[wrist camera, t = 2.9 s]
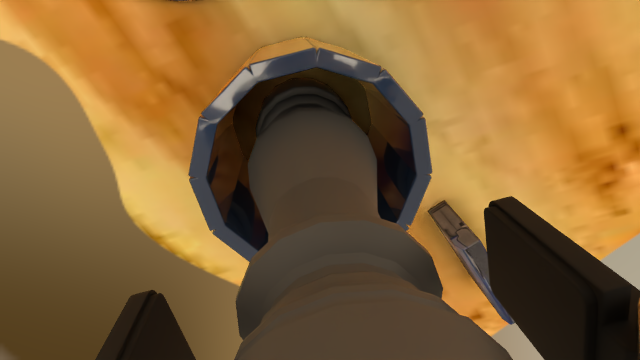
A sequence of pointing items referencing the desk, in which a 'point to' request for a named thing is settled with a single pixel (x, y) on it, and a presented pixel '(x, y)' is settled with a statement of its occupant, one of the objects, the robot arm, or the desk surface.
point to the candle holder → (337, 249)
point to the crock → (384, 135)
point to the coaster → (181, 0)
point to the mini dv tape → (467, 251)
